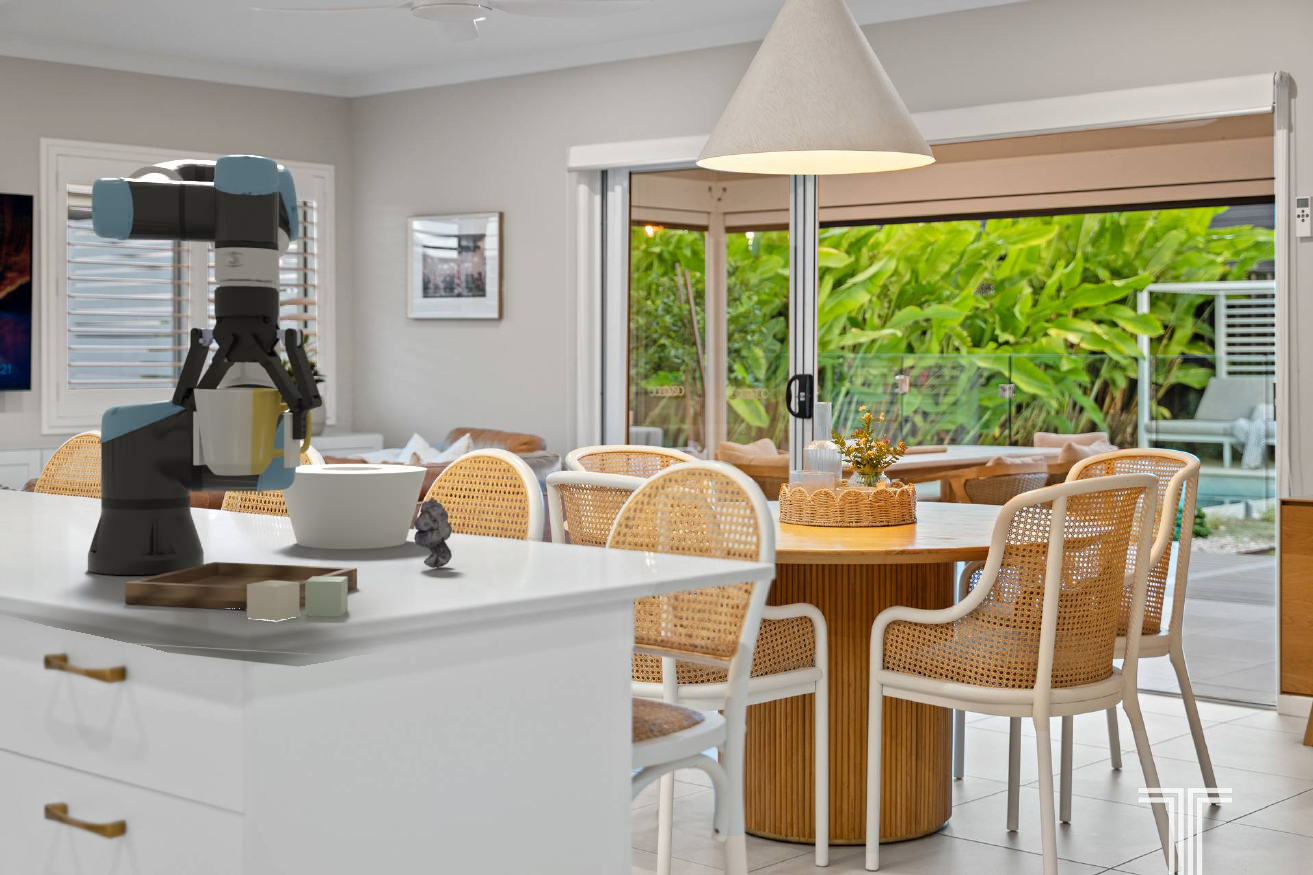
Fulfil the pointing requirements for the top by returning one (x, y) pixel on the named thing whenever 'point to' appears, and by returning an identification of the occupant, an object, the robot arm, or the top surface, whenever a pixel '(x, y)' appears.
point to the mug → (241, 429)
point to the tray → (222, 584)
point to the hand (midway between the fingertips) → (246, 465)
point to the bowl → (353, 504)
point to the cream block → (273, 600)
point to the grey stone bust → (433, 532)
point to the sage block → (326, 596)
